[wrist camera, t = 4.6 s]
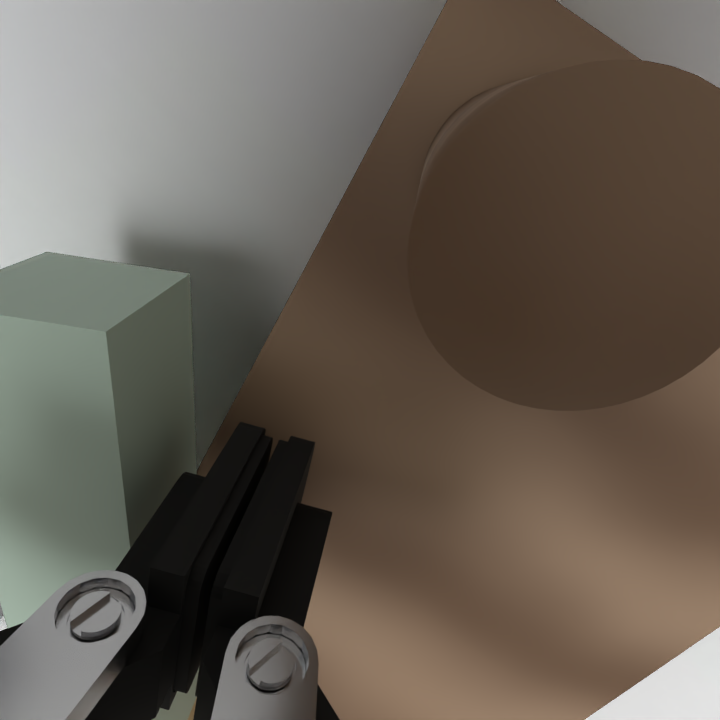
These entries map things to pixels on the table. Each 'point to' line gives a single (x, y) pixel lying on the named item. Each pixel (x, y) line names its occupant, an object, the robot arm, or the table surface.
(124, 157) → the table surface
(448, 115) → the stool seat
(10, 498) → the folding leg
